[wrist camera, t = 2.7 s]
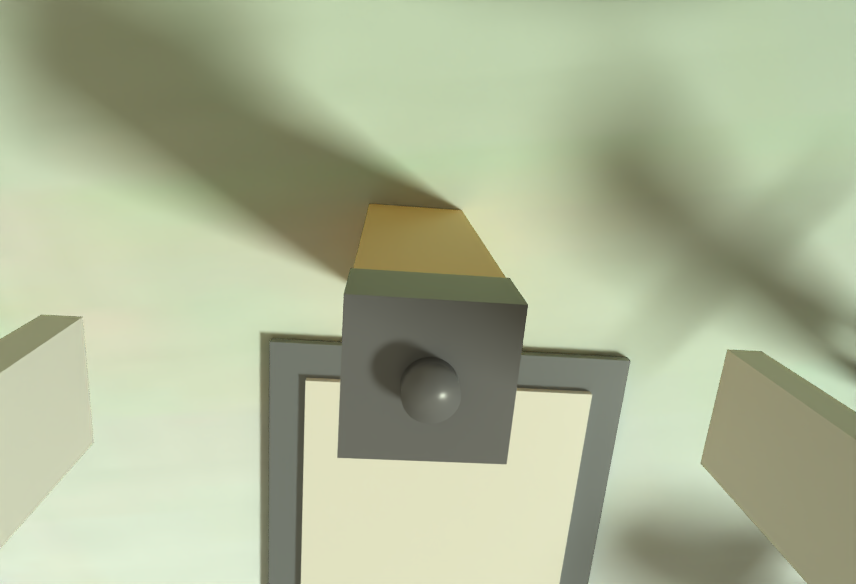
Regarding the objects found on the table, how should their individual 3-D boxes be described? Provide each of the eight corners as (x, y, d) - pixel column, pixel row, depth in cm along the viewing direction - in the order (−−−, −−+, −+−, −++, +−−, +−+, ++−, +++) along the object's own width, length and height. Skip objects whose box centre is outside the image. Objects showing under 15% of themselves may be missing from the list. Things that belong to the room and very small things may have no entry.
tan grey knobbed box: (368, 202, 23) (341, 303, 11) (462, 208, 24) (534, 314, 12) (363, 293, 24) (334, 473, 12) (454, 298, 25) (511, 480, 13)
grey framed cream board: (271, 338, 25) (268, 344, 24) (626, 357, 26) (632, 363, 25) (269, 707, 31) (266, 720, 30) (560, 709, 32) (564, 722, 31)
